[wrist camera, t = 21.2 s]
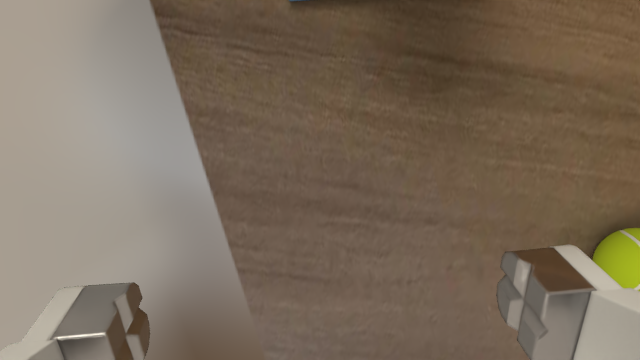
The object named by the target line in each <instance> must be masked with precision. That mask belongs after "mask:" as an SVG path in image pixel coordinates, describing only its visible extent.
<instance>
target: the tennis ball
mask: <svg viewBox="0 0 640 360" xmlns="http://www.w3.org/2000/svg"><path fill="white" fill-rule="evenodd" d="M592 261H593V262H594V263H596V264H597V265H598V266H599V267H600V268H601V269H602V270H603V271H604V272H606V273H607V274H608V275H609V276H610V277H611V278H612V279H613V280H615V281H616V282H617V283H618V284H619V285H620V286H621V287H622V288H632V289H635V290H637V291H640V228H627V229H623V230H619V231H616V232H614V233H612V234H610V235H609V236H607V237H606V238H605V239H603V240H602V241H601V243H600V244H599V245H598V247H597V248H596V250H595V252H594V255H593V259H592Z"/></svg>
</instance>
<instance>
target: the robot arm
mask: <svg viewBox="0 0 640 360" xmlns="http://www.w3.org/2000/svg"><path fill="white" fill-rule="evenodd" d="M500 267H501V269H502V270H503V272H504V273H505V274H506V275H505V276H504V277H503V278H502V279H501V280H500V281H499V282H498V285H497V294H496V296H497V303H498V308H499V311H500V313H501V316H502V317H503V319H504V321H505V322H506V324H507V325H508V326H510V327H512V328H514V329H515V330H517V331H518V336H517V341H518V342H519V344H520V345H521V347H522V348H523V350H524V351H525V353H526V354H527V356H528V357H529V359H530V360H640V291H637V290H635V289H632V288H622V287H621V286H620V285H619V284H618V283H617V282H616V281H615V280H613V279H612V278H611V277H610V276H609V275H608V274H607V273H606V272H604V271H603V270H602V269H601V268H600V267H599V266H598V265H597V264H596V263H594V262H593V261H592V260H591V259H590V258H589V257H588V256H587V255H586V254H584V253H583V252H582V251H581V250H580V249H579V248H578V247H576V246H573V245H562V246H553V247H548V248H540V249H529V250H518V251H508V252H505V253H504V255H503V256H502V260H501V266H500ZM141 300H142V295H141V292H140V289H139V286H138V285H137V284H135V283H119V284H103V285H88V286H75V287H64V288H62V289H60V290H58V291H57V293H56V294H55V295H54V297H53V298H52V299H51V301H50V302H49V304H48V305H47V307H46V308H45V309H44V310H43V312H42V313H41V315H40V316H39V317H38V319H37V320H36V321H35V323H34V324H33V326H32V327H31V328H30V330H29V331H28V333H27V334H26V336H25V337H24V338H23V340H22V341H21V342H20V343H13V344H11V345H9V346H7V347H6V348H4V349H2V350H1V351H0V360H144V359H145V356H146V353H147V350H148V346H149V338H150V329H149V321H148V317H147V314H146V313H145V312H143V311H142V310H141V309H140V308H138V307H139V305H140V302H141Z"/></svg>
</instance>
